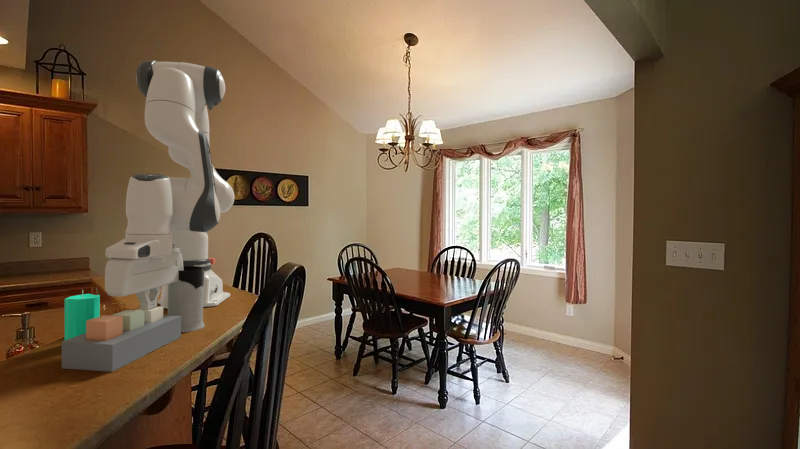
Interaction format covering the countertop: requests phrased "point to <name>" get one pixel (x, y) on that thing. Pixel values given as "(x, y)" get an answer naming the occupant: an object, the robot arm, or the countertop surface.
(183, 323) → the grey black ceramic vase
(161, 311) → the key
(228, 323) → the countertop surface
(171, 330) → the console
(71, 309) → the candle
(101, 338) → the key
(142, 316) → the key mid
